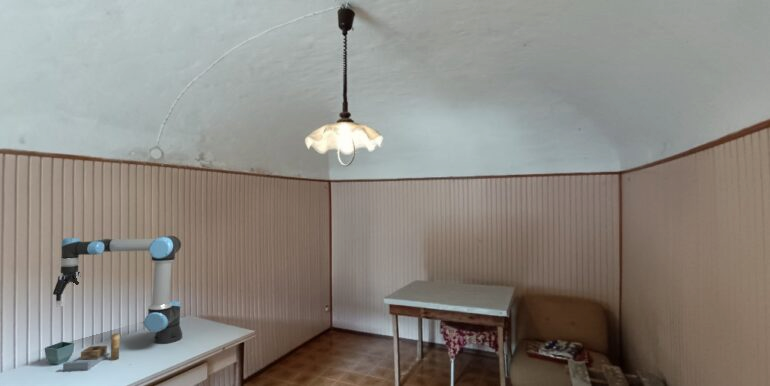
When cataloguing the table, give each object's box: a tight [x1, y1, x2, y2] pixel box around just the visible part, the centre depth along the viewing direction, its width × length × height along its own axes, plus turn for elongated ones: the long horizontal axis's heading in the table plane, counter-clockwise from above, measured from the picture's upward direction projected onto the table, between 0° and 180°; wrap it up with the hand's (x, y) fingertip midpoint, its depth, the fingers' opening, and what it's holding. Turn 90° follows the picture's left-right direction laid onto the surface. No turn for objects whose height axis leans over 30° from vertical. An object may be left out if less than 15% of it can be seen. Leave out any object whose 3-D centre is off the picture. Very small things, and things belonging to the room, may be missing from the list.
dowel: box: [110, 333, 121, 361], centre depth 195 cm, size 4×4×13 cm
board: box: [62, 352, 111, 373], centre depth 189 cm, size 11×19×4 cm, turn 9°
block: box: [80, 345, 108, 360], centre depth 194 cm, size 8×8×4 cm
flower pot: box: [44, 341, 76, 365], centre depth 189 cm, size 9×9×9 cm
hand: (68, 303), depth 203 cm, fingers open, 13 cm apart
